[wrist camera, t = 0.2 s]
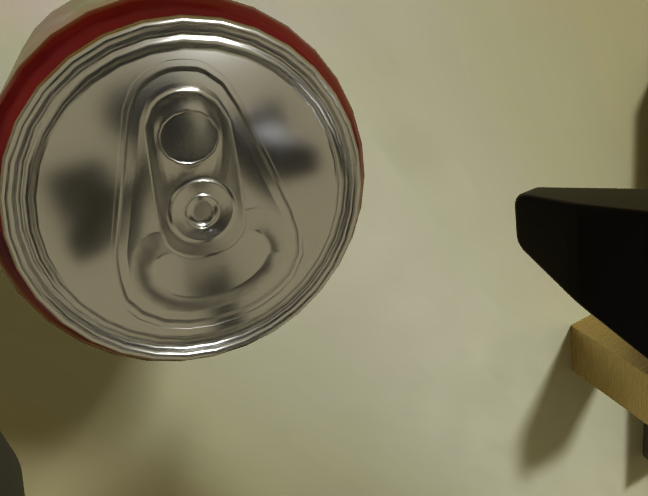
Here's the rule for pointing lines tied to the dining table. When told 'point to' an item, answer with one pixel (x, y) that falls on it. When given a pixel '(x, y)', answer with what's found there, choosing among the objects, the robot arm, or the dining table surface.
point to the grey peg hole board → (645, 441)
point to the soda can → (173, 175)
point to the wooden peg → (611, 365)
